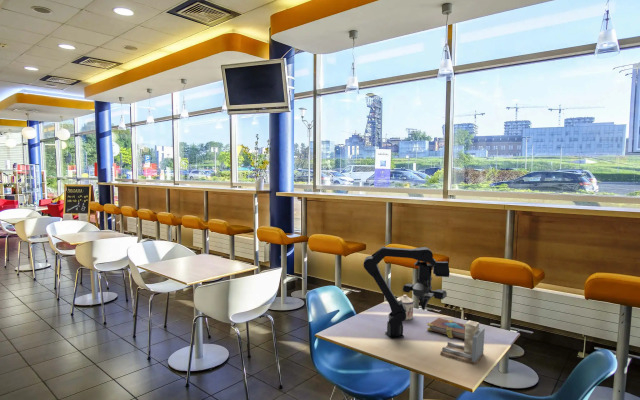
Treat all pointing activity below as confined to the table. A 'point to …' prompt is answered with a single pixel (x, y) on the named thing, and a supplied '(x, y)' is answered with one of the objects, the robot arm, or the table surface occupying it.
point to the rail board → (457, 353)
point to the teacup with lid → (407, 306)
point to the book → (448, 328)
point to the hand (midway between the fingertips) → (423, 309)
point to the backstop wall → (478, 344)
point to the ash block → (470, 335)
